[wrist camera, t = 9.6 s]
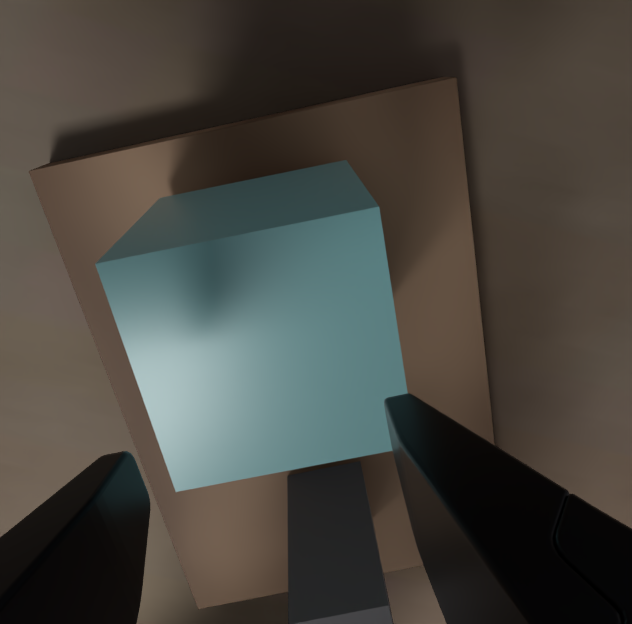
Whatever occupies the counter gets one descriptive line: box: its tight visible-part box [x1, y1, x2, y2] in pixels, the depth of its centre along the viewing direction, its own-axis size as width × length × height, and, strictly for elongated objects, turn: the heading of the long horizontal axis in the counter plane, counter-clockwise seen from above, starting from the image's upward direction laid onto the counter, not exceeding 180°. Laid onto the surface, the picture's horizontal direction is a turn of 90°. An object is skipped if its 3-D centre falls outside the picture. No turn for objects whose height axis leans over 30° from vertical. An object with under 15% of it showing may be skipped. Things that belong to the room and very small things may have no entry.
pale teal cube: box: [95, 160, 408, 492], centre depth 14 cm, size 5×5×6 cm
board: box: [29, 77, 495, 609], centre depth 20 cm, size 12×17×2 cm
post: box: [287, 461, 393, 624], centre depth 19 cm, size 3×3×8 cm
